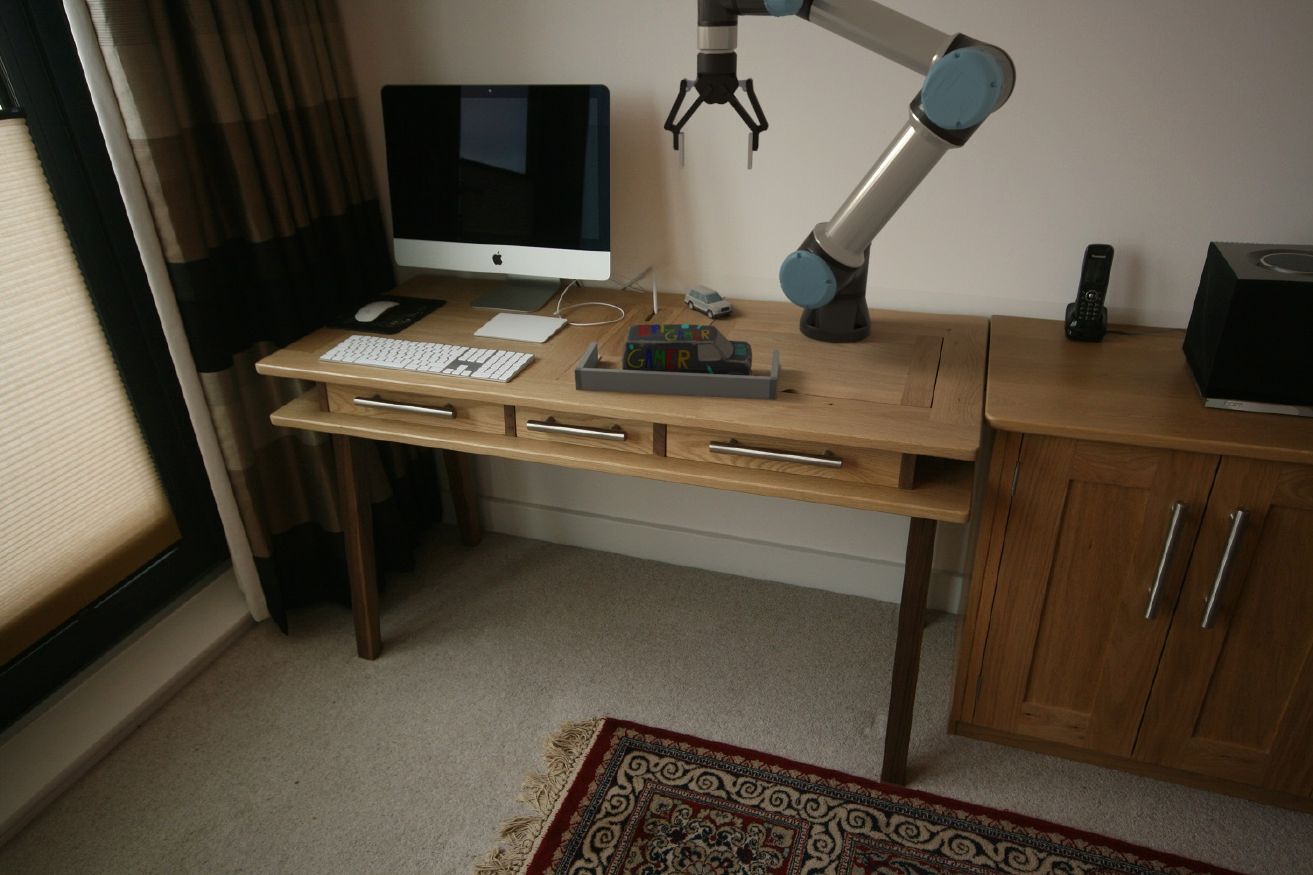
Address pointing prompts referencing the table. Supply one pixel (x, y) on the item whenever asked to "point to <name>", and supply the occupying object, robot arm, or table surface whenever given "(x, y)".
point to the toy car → (707, 301)
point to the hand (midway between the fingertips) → (715, 168)
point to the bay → (673, 380)
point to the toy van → (685, 350)
